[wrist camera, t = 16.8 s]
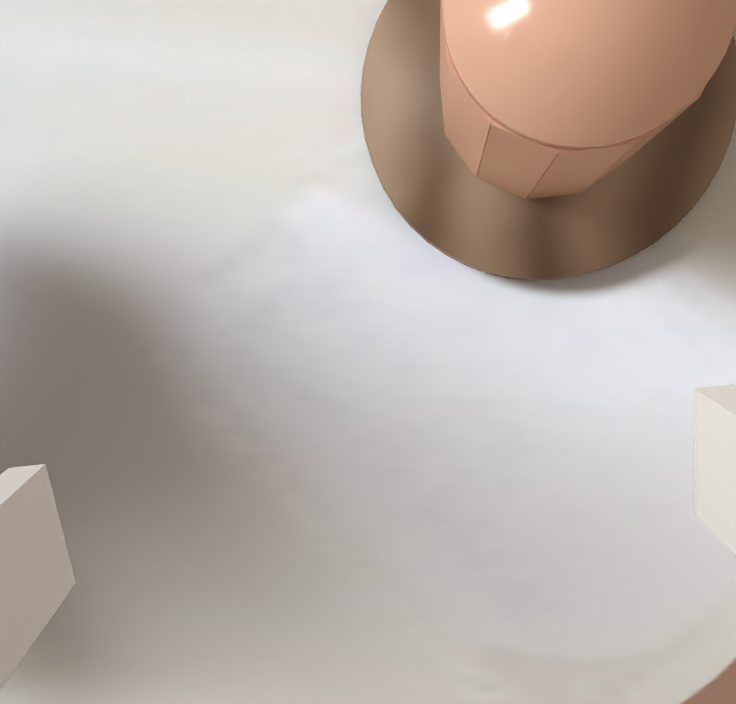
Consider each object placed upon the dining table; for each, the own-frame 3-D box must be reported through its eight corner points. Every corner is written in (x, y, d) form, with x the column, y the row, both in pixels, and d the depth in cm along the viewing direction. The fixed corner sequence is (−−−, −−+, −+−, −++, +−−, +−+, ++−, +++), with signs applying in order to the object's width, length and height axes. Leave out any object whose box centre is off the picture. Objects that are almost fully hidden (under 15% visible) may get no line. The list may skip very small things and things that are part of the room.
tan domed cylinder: (451, 207, 38) (457, 160, 27) (432, 6, 38) (430, -125, 27) (658, 183, 37) (752, 124, 26) (640, -25, 36) (727, -174, 26)
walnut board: (381, 297, 40) (379, 296, 39) (347, -52, 39) (343, -67, 38) (742, 260, 38) (754, 257, 36) (711, -109, 37) (723, -127, 36)
